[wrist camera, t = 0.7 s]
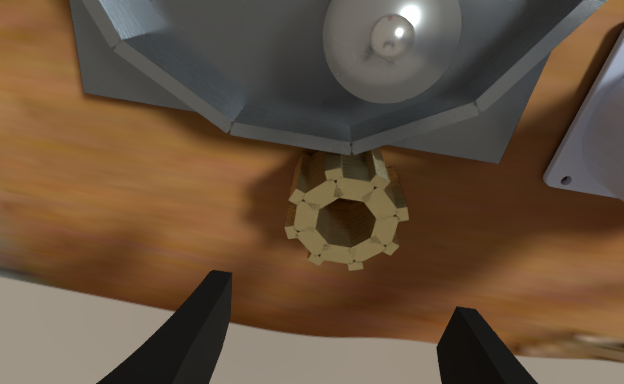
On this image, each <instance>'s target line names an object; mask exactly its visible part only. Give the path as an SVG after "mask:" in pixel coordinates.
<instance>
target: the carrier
mask: <svg viewBox="0 0 624 384" xmlns="http://www.w3.org/2000/svg"><path fill="white" fill-rule="evenodd" d="M606 1H607V0H69V2H70V8H71V14H72V20H73V27H74V33H75V39H76V45H77V52H78V58H79V64H80V70H81V76H82V83H83V89H84V93H88V94H94V95H100V96H105V97H111V98H117V99H123V100H129V101H134V102H140V103H146V104H152V105H158V106H164V107H169V108H175V109H181V110H187V111H193V112H198V113H199V114H201V115H202V116H203V117H205V118H206V119H207V120H209V121H210V122H212V123H213V124H214V125H216V126H217V127H218V128H220V129H221V130H223V131H224V132H225V133H228V131H229V130H230V129H231V130H230V135H233V136H239V137H245V138H250V139H256V140H262V141H268V142H274V143H280V144H286V145H292V146H297V147H303V148H309V149H315V150H321V151H327V152H333V153H339V154H344V155H350V154H351V149H352V152H353V155H356V154H359V153H362V152H365V151H368V150H372V149H375V148H378V147H381V146H384V145H391V146H397V147H403V148H408V149H414V150H420V151H426V152H432V153H438V154H443V155H449V156H455V157H461V158H467V159H473V160H478V161H484V162H490V163H496V164H499V162H500V160H501V158H502V156H503V154H504V152H505V150H506V147H507V145H508V143H509V141H510V139H511V137H512V135H513V132H514V130H515V128H516V126H517V124H518V122H519V120H520V117H521V115H522V113H523V111H524V109H525V107H526V105H527V102H528V100H529V98H530V96H531V94H532V92H533V90H534V87H535V85H536V83H537V81H538V79H539V77H540V75H541V72H542V70H543V68H544V66H545V64H546V62H547V60H548V57H549V55H550V53H551V51H552V50H553V49H554V48H555V47H556V46H557V45H559V44H560V43H561V42H562V41H563V40H564V39H565V38H566V37H567V36H568V35H570V34H571V33H572V32H573V31H574V30H575V29H576V28H577V27H578V26H580V25H581V24H582V23H583V22H584V21H585V20H586V19H587V18H588V17H590V16H591V15H592V14H593V13H594V12H595V11H596V10H597V9H598V8H600V7H601V6H602V5H603V4H604V3H605V2H606Z"/></svg>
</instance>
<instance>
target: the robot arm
mask: <svg viewBox="0 0 624 384" xmlns="http://www.w3.org/2000/svg"><path fill="white" fill-rule="evenodd" d="M566 176H567V179H566V180H564V181H561V180H562V178H564V177H566ZM543 181H544V182H545V183H546V184H547V185H548V186H550V187H554V188H560V189H566V190H572V191H578V192H583V193H589V194H595V195H601V196H607V197H613V198H619V199H620V200H622V201H623V202H624V29H623V30H622V32H621V34H620V36H619V38H618V40H617V41H616V43H615V45H614V47H613V49H612V51H611V52H610V54H609V56H608V58H607V60H606V62H605V63H604V65H603V67H602V69H601V71H600V73H599V74H598V76H597V78H596V80H595V82H594V84H593V85H592V87H591V89H590V91H589V93H588V95H587V96H586V98H585V100H584V102H583V104H582V106H581V107H580V109H579V111H578V113H577V115H576V116H575V118H574V120H573V122H572V124H571V126H570V127H569V129H568V131H567V133H566V135H565V137H564V138H563V140H562V142H561V144H560V146H559V148H558V149H557V151H556V153H555V155H554V157H553V159H552V160H551V162H550V164H549V166H548V168H547V170H546V171H545V173H544V176H543ZM231 291H232V273H230V272H223V271H217V270H212V271H211V272H209V273H208V275H207V276H206V277H205V279H204V280H203V281H202V282H201V284H200V285H199V286H198V287H197V288H196V290H195V291H194V292H193V293H192V294H191V295H190V297H189V298H188V299H187V300H186V301H185V302H184V303H183V304H182V305H181V306H180V308H179V309H178V310H177V311H176V312H175V313H174V314H173V315H172V316H171V317H170V318H169V319H168V320H167V321H166V322H165V323H164V324H163V325H162V326H161V327H160V328H159V329H158V330H157V331H156V332H155V333H154V334H153V335H152V336H151V337H150V338H149V339H148V340H147V341H146V342H145V343H144V344H143V345H142V346H141V347H139V348H138V349H137V350H136V351H135V352H134V353H133V354H132V355H130V356H129V357H128V358H127V359H126V360H125V361H124V362H122V363H121V364H120V365H119V366H118V367H117V368H115V369H114V370H113V371H112V372H110V373H109V374H108V375H107V376H105V377H104V378H103V379H102V380H101V381H99V382H98V383H96V384H209V382H210V379H211V376H212V374H213V371H214V368H215V366H216V363H217V360H218V358H219V355H220V353H221V350H222V347H223V343H224V340H225V336H226V332H227V328H228V325H229V321H230V315H231ZM437 355H438V362H439V370H440V376H441V382H442V384H538V383H537V382H536V381H535V380H534V379H533V378H532V376H531V375H530V374H529V373H528V372H527V371H526V369H525V368H524V367H523V366H522V365H521V364H520V362H519V361H518V360H517V359H516V358H515V356H514V355H513V354H512V353H511V352H510V350H509V349H508V348H507V347H506V345H505V344H504V343H503V342H502V341H501V339H500V338H499V337H498V336H497V334H496V333H495V332H494V331H493V330H492V328H491V327H490V326H489V325H488V323H487V322H486V321H485V320H484V319H483V317H482V316H481V315H480V314H479V313H478V311H477V310H476V309H471V308H464V307H456V309H455V311H454V313H453V315H452V317H451V319H450V321H449V323H448V325H447V327H446V329H445V331H444V333H443V335H442V337H441V339H440V341H439V343H438V345H437Z"/></svg>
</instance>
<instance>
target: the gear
mask: <svg viewBox="0 0 624 384" xmlns="http://www.w3.org/2000/svg"><path fill="white" fill-rule="evenodd" d="M338 198H344V199H350V200H354V201H352V202H350V203H344V202H338V201H335V200H336V199H338ZM288 200H289V201H290V203H289V207H288V212H287V217H286V222H285V226H284V228H285V231H286V234H287V237H288V239H293V238H298V239H299V240H300V241H301V242H302V243H303V244H304V246H305V247H306V248H307V249H308V256H307V260H308V261H310V262H312V263H314V264H316V265H318V266H320V265H321V263H322V262H323V261H324V260H326V261H333V262H339V263H345V264H348V268H349V271H352V270H359V269H363V261H365V260H367V259H369V258H371V257H373V256H375V255H377V254H379V253H381V252H384V253H386V254H388V255H390V256H391V255H392V254H393V253H394V252H395V250H396V249H397V248H398V247H399V242H398V237H397V233H396V228H397V225H398V222H400V221H407V220H409V217H408V209H407V205H406V202H405V198H404V195H403V192H402V189H401V186H400V183H399V180H398V176H397V173H396V170H395V167H391V168H386V166H385V162H384V158H383V155H382V151H381V147H378V148H375V149H372V150H368V151H365V152H362V153H359V154H356V155H353V152H352V149H351V154H350V155H344V154H339V153H333V152H327V151H321V150H319V151H317V152H316V153H314V154H313V155H311V156H310V155H309V154H307V153H305V152H304V151H303V153H302V154H301V156H300V157H299V159H298V160H297V163H296V167H295V172H294V176H293V181H292V185H291V190H290V195H289V199H288Z"/></svg>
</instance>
